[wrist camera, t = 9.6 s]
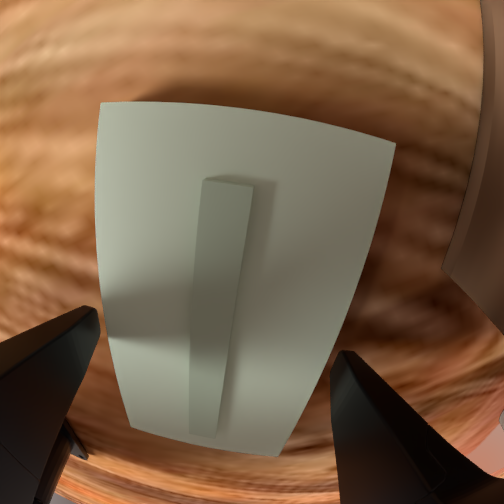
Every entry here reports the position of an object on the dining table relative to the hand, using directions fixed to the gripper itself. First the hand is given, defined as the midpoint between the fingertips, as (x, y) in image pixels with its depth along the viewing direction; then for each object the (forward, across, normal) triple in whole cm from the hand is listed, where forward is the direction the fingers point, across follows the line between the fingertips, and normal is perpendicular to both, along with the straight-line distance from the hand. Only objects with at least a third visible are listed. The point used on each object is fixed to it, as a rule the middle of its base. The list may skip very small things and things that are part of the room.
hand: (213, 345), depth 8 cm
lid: (+1, 0, 0) cm, 1 cm away
